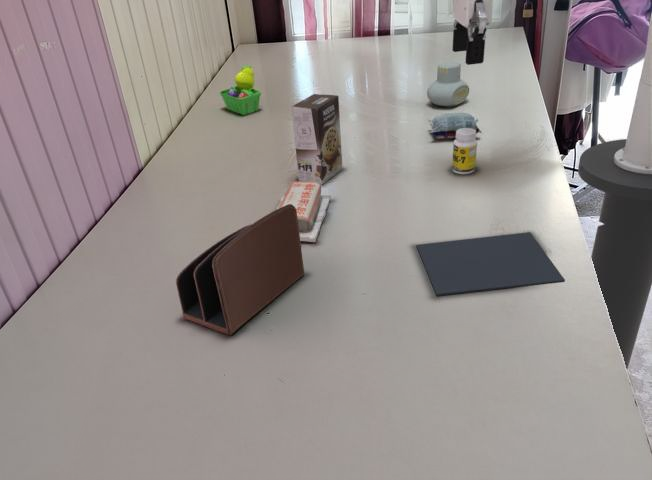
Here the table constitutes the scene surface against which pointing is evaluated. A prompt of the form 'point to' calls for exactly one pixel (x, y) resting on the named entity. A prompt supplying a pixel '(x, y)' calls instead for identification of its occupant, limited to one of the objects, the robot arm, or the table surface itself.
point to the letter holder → (242, 272)
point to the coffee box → (317, 137)
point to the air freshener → (448, 85)
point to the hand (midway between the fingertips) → (467, 57)
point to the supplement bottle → (464, 151)
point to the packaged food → (452, 124)
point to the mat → (487, 264)
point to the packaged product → (307, 207)
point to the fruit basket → (242, 93)
